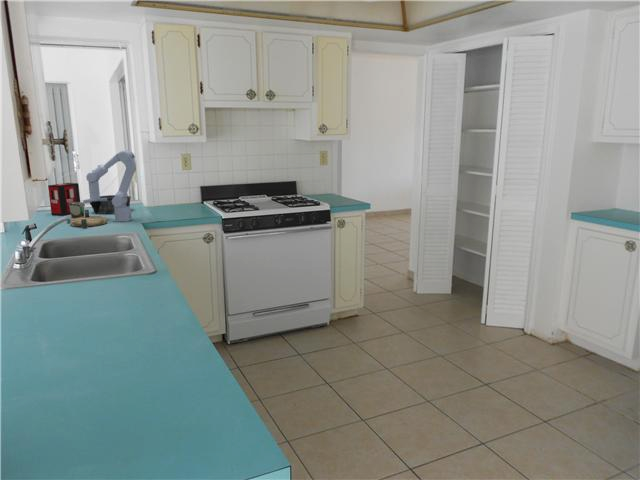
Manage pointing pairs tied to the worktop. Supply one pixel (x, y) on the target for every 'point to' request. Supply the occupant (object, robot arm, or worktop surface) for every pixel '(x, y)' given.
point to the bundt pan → (110, 204)
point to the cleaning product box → (63, 197)
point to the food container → (77, 209)
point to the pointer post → (84, 223)
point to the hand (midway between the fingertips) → (96, 213)
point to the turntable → (88, 220)
